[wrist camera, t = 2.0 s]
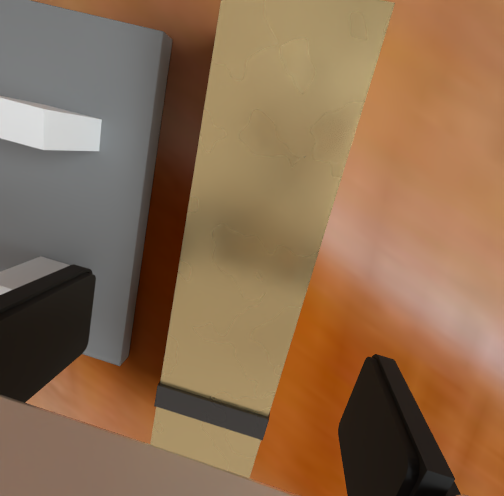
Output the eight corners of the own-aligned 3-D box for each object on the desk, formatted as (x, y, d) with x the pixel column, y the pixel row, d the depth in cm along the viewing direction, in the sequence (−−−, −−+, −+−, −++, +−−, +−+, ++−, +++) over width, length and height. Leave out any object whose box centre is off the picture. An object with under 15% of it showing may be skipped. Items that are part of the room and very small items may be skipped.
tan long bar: (251, 33, 14) (222, -32, 9) (364, 56, 14) (398, 0, 9) (184, 386, 20) (145, 459, 15) (260, 409, 20) (246, 493, 15)
